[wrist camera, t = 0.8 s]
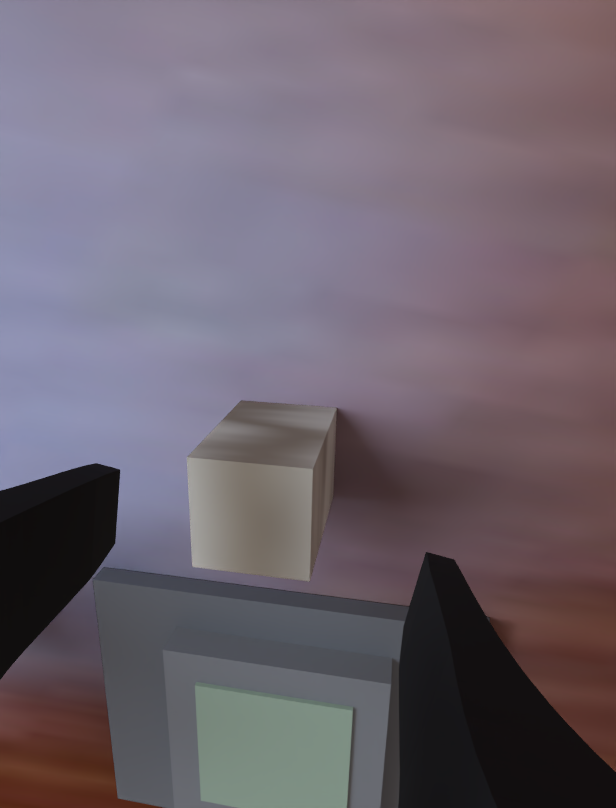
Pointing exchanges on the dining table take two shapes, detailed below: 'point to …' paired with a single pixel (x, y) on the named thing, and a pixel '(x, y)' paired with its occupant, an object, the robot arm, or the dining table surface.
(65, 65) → the dining table surface
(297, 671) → the stepped stand
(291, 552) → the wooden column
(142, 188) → the dining table surface
